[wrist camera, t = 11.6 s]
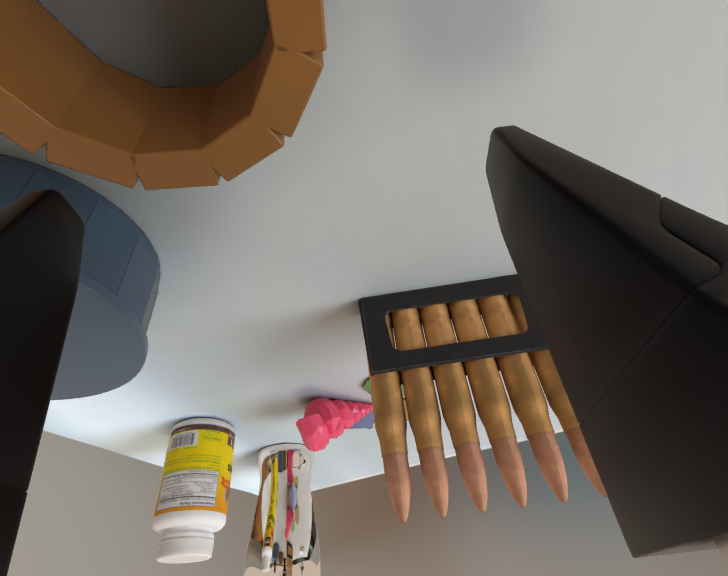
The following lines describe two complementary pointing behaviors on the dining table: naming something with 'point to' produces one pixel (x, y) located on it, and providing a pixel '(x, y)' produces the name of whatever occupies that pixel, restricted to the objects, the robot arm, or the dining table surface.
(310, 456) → the clear pen holder cup
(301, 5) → the brown grooved ring
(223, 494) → the supplement bottle
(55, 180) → the pot
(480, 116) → the dining table surface
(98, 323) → the pot lid
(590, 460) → the ammunition clip
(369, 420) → the toy pieces
